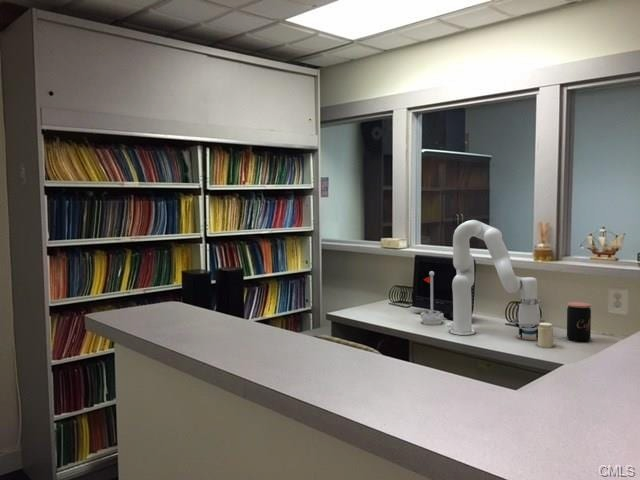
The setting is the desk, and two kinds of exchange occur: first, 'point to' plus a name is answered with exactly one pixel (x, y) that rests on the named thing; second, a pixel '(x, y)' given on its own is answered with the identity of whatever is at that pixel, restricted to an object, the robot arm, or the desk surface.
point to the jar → (545, 335)
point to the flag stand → (431, 317)
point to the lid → (529, 331)
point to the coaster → (527, 337)
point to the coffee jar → (579, 321)
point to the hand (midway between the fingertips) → (529, 336)
